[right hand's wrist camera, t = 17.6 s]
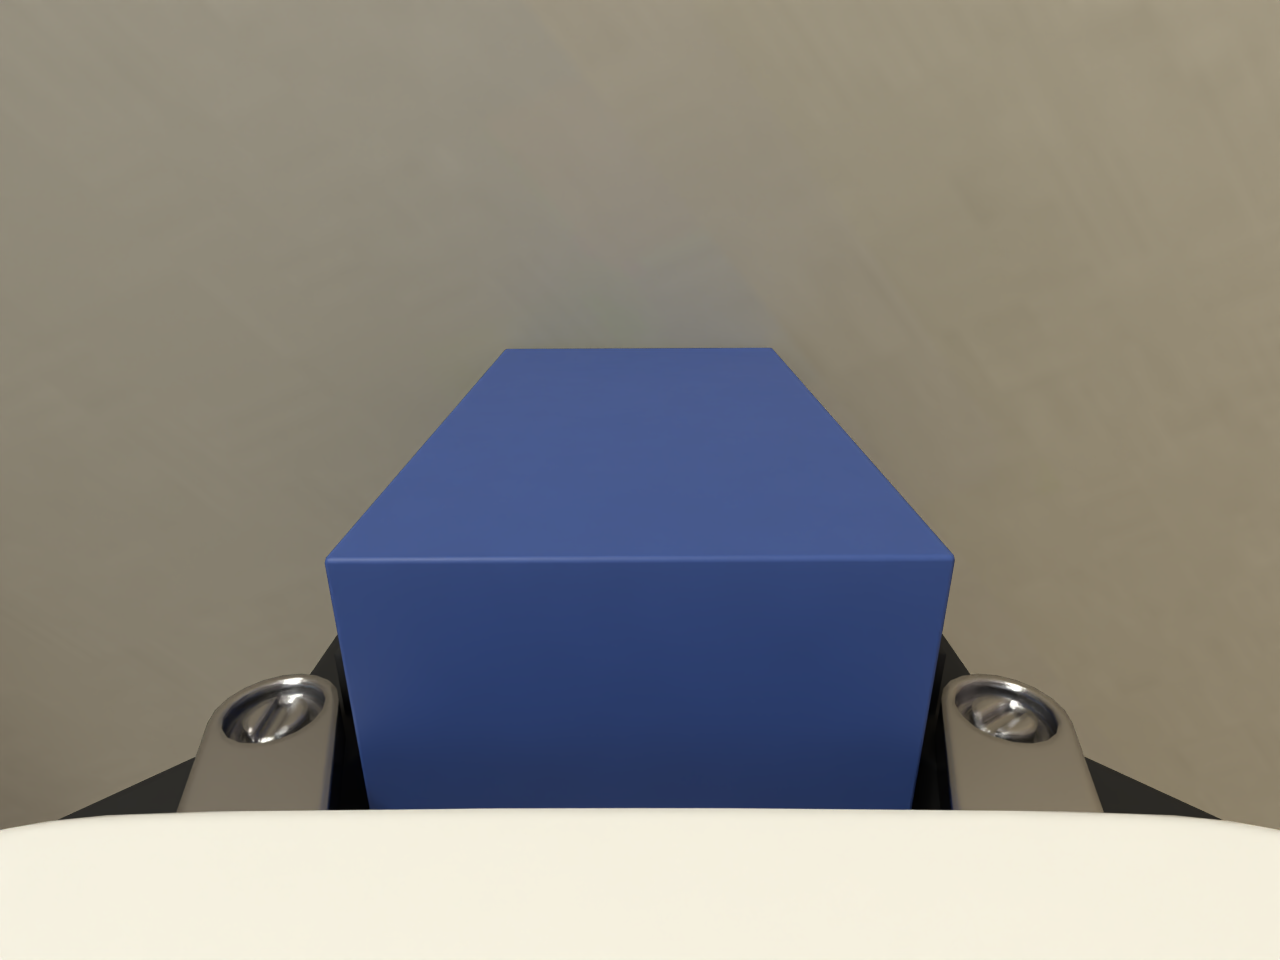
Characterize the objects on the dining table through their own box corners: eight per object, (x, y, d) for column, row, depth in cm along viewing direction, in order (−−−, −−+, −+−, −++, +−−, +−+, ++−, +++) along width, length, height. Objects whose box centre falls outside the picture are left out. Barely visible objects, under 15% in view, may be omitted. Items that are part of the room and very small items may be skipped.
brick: (772, 347, 14) (957, 557, 6) (754, 636, 16) (869, 1068, 8) (504, 348, 14) (321, 559, 6) (525, 637, 16) (414, 1070, 8)
